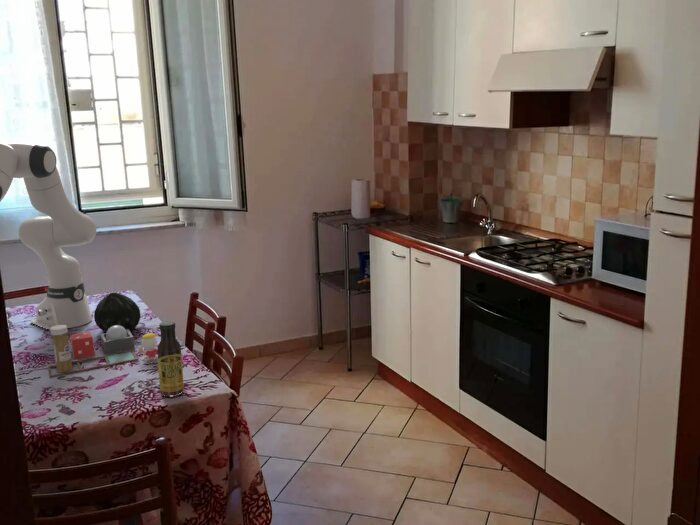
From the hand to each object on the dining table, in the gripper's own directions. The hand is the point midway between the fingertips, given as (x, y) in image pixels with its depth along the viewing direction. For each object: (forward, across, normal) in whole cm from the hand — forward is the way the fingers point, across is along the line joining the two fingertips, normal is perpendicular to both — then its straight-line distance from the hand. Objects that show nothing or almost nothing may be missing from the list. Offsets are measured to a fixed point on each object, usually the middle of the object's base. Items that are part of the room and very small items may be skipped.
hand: (10, 321), depth 200 cm
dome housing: (+33, +11, -8) cm, 36 cm away
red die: (+26, +11, -1) cm, 28 cm away
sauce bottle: (+38, -35, -13) cm, 54 cm away
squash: (+36, +28, -10) cm, 46 cm away
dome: (+32, +11, -9) cm, 35 cm away
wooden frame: (+27, 0, -2) cm, 27 cm away
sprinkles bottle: (+21, 0, +4) cm, 22 cm away
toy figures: (+40, -6, -15) cm, 43 cm away
